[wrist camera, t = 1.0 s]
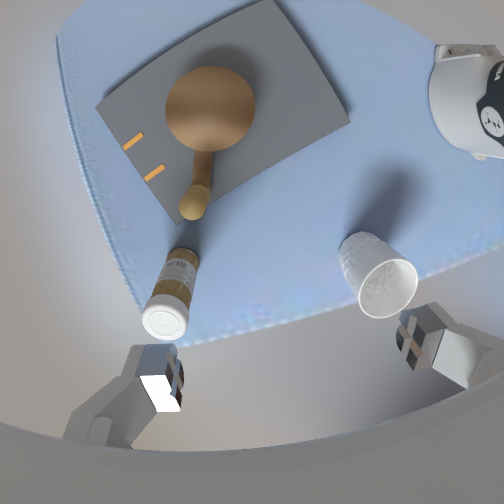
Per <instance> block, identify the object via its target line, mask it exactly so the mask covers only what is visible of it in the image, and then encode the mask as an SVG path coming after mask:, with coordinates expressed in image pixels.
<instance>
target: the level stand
mask: <svg viewBox="0 0 504 504" xmlns="http://www.w3.org/2000/svg"><path fill="white" fill-rule="evenodd" d="M204 66H219V67H224V68H227V69H230V70H232V71H234V72H236V73H237V74H239V75H240V76H241V77H242V78H243V79H244V80H245V81H246V82H247V83H248V85H249V86H250V88H251V90H252V92H253V95H254V99H255V116H254V120H253V122H252V125H251V127H250V128H249V130H248V132H247V133H246V134H245V135H244V136H243V138H242V139H240V140H239V141H238V142H237V143H235V144H234V145H232V146H230V147H228V148H225V149H222V150H218V151H213V159H212V166H211V174H210V182H211V184H212V192H211V195H210V198H209V201H208V204H207V205H209V204H210V203H212V202H213V201H215V200H217V199H218V198H220V197H221V196H223V195H225V194H226V193H228V192H229V191H231V190H233V189H234V188H236V187H238V186H239V185H241V184H243V183H244V182H246V181H247V180H249V179H251V178H252V177H254V176H256V175H257V174H259V173H261V172H263V171H264V170H266V169H268V168H269V167H271V166H273V165H274V164H276V163H278V162H280V161H281V160H283V159H285V158H287V157H288V156H290V155H292V154H294V153H295V152H297V151H299V150H301V149H303V148H304V147H306V146H308V145H310V144H312V143H313V142H315V141H317V140H319V139H321V138H323V137H324V136H326V135H328V134H330V133H332V132H334V131H336V130H337V129H339V128H341V127H343V126H345V125H347V124H349V123H351V121H350V120H349V118H348V116H347V114H346V112H345V110H344V108H343V106H342V105H341V103H340V101H339V99H338V97H337V96H336V94H335V92H334V90H333V89H332V87H331V85H330V83H329V82H328V80H327V78H326V77H325V75H324V73H323V72H322V70H321V69H320V67H319V65H318V64H317V62H316V61H315V59H314V57H313V56H312V54H311V53H310V51H309V50H308V48H307V47H306V45H305V44H304V42H303V41H302V39H301V38H300V36H299V35H298V33H297V32H296V31H295V29H294V28H293V26H292V25H291V24H290V22H289V21H288V19H287V18H286V17H285V15H284V14H283V13H282V11H281V10H280V9H279V7H278V6H277V5H276V4H275V2H274V1H273V0H263V1H260V2H258V3H256V4H253V5H251V6H249V7H247V8H244V9H242V10H240V11H238V12H236V13H234V14H232V15H230V16H228V17H226V18H224V19H222V20H220V21H218V22H216V23H214V24H212V25H211V26H209V27H207V28H205V29H203V30H202V31H200V32H198V33H196V34H195V35H193V36H191V37H190V38H188V39H186V40H185V41H183V42H181V43H180V44H178V45H177V46H175V47H173V48H172V49H170V50H169V51H167V52H166V53H164V54H163V55H161V56H160V57H158V58H157V59H155V60H154V61H152V62H151V63H150V64H148V65H147V66H145V67H144V68H143V69H141V70H140V71H139V72H137V73H136V74H135V75H133V76H132V77H131V78H129V79H128V80H127V81H125V82H124V83H123V84H122V85H120V86H119V87H118V88H117V89H115V90H114V91H113V92H112V93H111V94H109V95H108V96H107V97H106V98H105V99H104V100H102V101H101V102H100V103H99V104H98V105H97V106H95V108H96V110H97V111H98V113H99V114H100V116H101V117H102V119H103V120H104V122H105V123H106V125H107V127H108V128H109V130H110V131H111V133H112V134H113V136H114V137H115V139H116V140H117V142H118V143H119V145H120V146H121V148H122V149H123V151H124V152H125V154H126V155H127V156H128V158H129V159H130V161H131V162H132V164H133V165H134V167H135V168H136V170H137V171H138V173H139V174H140V175H141V177H142V178H143V180H144V181H145V183H146V184H147V185H148V187H149V188H150V190H151V191H152V193H153V194H154V195H155V197H156V198H157V200H158V201H159V202H160V204H161V205H162V207H163V208H164V209H165V211H166V212H167V214H168V215H169V216H170V218H171V219H172V220H173V222H174V223H175V225H178V224H179V223H181V222H183V221H184V220H186V218H184V217H183V216H182V215H181V213H180V211H179V202H180V200H181V199H182V197H183V196H184V194H185V193H186V192H187V190H188V189H189V187H190V186H191V182H192V173H193V164H194V155H195V149H192V148H190V147H187V146H186V145H184V144H182V143H181V142H180V141H179V140H178V139H177V138H176V137H175V136H174V135H173V133H172V132H171V130H170V128H169V126H168V124H167V121H166V116H165V105H166V100H167V97H168V94H169V92H170V90H171V88H172V87H173V85H174V84H175V83H176V82H177V81H178V80H179V79H180V78H181V77H182V76H183V75H185V74H186V73H188V72H190V71H192V70H194V69H197V68H200V67H204Z"/></svg>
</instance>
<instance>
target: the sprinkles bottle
mask: <svg viewBox="0 0 504 504" xmlns="http://www.w3.org/2000/svg"><path fill="white" fill-rule="evenodd" d="M198 268H199V259H198V257H197V255H196V254H195V253H194V252H192V251H191V250H190V249H187V248H177V249H174V250H173V251H171V252H170V253H169V254H168V256H167V259H166V263H165V265H164V267H163V269H162V271H161V273H160V275H159V278H158V280H157V283H156V285H155V288H154V291H153V293H152V296H151V298H150V299H149V300H148V302H147V303H146V305H145V308H144V311H143V314H142V322H143V325H144V327H145V329H146V330H147V331H148V332H149V333H150V334H151V335H153V336H154V337H156V338H159V339H162V340H174V339H177V338H179V337H181V336H182V335H183V334H184V333H185V331H186V329H187V325H188V321H189V307H190V303H191V300H192V294H193V290H194V285H195V281H196V275H197V271H198Z"/></svg>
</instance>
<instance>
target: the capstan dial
mask: <svg viewBox="0 0 504 504" xmlns="http://www.w3.org/2000/svg"><path fill="white" fill-rule="evenodd" d="M165 116H166V121H167V124H168V126H169V128H170V130H171V132H172V133H173V135H174V136H175V137H176V138H177V139H178V140H179V141H180V142H181V143H182V144H184V145H186V146H187V147H190V148H192V149H195V155H194V164H193V173H192V182H191V186H190V187H189V189H188V190H187V192H186V193H185V194H184V196H183V197H182V199H181V200H180V202H179V211H180V213H181V215H182V216H183V217H184V218H186V219H189V220H196V219H199V218H200V217H202V216H203V214H204V212H205V210H206V207H207V204H208V201H209V198H210V195H211V192H212V184H211V182H210V174H211V166H212V159H213V151H218V150H222V149H225V148H228V147H230V146H232V145H234V144H235V143H237V142H238V141H239V140H240V139H242V138H243V136H244V135H245V134H246V133H247V132H248V130H249V128H250V127H251V125H252V122H253V120H254V116H255V99H254V95H253V92H252V90H251V88H250V86H249V85H248V83H247V82H246V81H245V80H244V79H243V78H242V77H241V76H240V75H239V74H237V73H236V72H234V71H232V70H230V69H227V68H224V67H219V66H204V67H200V68H197V69H194V70H192V71H190V72H188V73H186V74H185V75H183V76H182V77H181V78H180V79H179V80H178V81H177V82H176V83H175V84H174V85H173V87H172V88H171V90H170V92H169V94H168V97H167V100H166V105H165Z"/></svg>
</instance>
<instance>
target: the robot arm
mask: <svg viewBox="0 0 504 504" xmlns="http://www.w3.org/2000/svg"><path fill="white" fill-rule="evenodd" d="M448 52H449V53H448ZM429 102H430V108H431V112H432V115H433V118H434V120H435V123H436V125H437V127H438V129H439V130H440V132H441V134H442V135H443V136H444V138H445V139H446V140H447V141H448V142H449V143H451V144H452V145H453V146H455V147H457V148H459V149H462V150H465V151H468V152H469V153H470V154H471V155H472V156H473V157H474V158H475V159H476V160H479V161H484V160H485V159H486V158H487V157H488V156H491V157H497V158H503V159H504V56H502V55H501V54H500V52H499V51H498V50H497V48H496V46H495V45H460V44H459V45H438V46H436V48H435V66H434V69H433V72H432V74H431V77H430V82H429ZM399 320H400V322H401V323H402V324H401V325H400V326H399V327H398V329H397V333H396V342H397V346H398V348H399V350H400V351H401V353H403V354H405V355H407V359H406V361H407V362H408V364H409V366H410V367H411V369H412V370H413V372H415V371H418V370H421V369H425V368H427V367H431V366H432V368H434V369H435V370H437V371H439V372H440V373H442V374H443V375H445V376H447V377H448V378H450V379H451V380H453V381H455V382H456V383H458V384H459V385H461V386H463V387H464V388H466V390H465V391H463V392H461V393H459V394H457V395H454V396H452V397H450V398H448V399H445V400H443V401H441V402H438V403H436V404H433V405H431V406H428V407H426V408H423V409H421V410H418V411H415V412H413V413H410V414H407V415H404V416H401V417H398V418H395V419H392V420H389V421H386V422H383V423H380V424H377V425H373V426H370V427H366V428H362V429H359V430H355V431H351V432H347V433H343V434H338V435H335V436H330V437H325V438H320V439H315V440H309V441H304V442H298V443H292V444H285V445H278V446H271V447H262V448H253V449H241V450H227V451H202V452H175V451H151V450H150V451H149V450H136V449H133V448H132V447H131V446H130V445H131V444H132V443H133V441H134V440H135V439H136V438H137V436H138V435H139V434H140V433H141V432H142V430H143V429H144V428H145V427H146V425H147V424H148V423H149V422H150V421H151V419H152V418H153V417H154V416H155V415H156V414H157V411H180V409H181V401H182V394H181V392H180V389H181V388H182V387H183V385H184V371H183V366H182V364H181V361H180V360H178V359H177V349H176V346H175V345H174V344H147V345H133V346H132V347H131V349H130V351H129V354H128V357H127V360H126V363H125V365H124V368H123V371H122V374H121V376H120V377H116V378H114V379H113V380H112V381H111V382H110V383H108V384H107V385H106V386H104V387H103V388H102V389H101V390H99V391H98V392H97V393H96V394H94V395H93V396H92V397H91V398H89V399H88V400H87V401H86V402H84V403H83V404H82V405H81V406H79V407H78V408H77V409H76V410H75V411H73V412H72V414H71V416H70V419H69V421H68V424H67V427H66V429H65V432H64V435H63V437H62V439H61V438H56V437H52V436H48V435H44V434H40V433H36V432H32V431H29V430H25V429H21V428H19V427H15V426H12V425H9V424H6V423H3V422H1V421H0V504H504V340H502V339H500V338H497V337H495V336H492V335H489V334H487V333H484V332H482V331H479V330H476V329H474V328H471V327H469V326H466V325H463V324H457V323H456V322H455V321H454V319H453V318H452V317H450V315H449V314H448V313H447V312H446V311H445V310H444V309H443V308H442V307H441V306H440V305H439V304H438V303H436V302H432V303H429V304H425V305H423V306H419V307H415V308H411V309H407V310H403V311H402V312H401V314H400V318H399Z"/></svg>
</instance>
